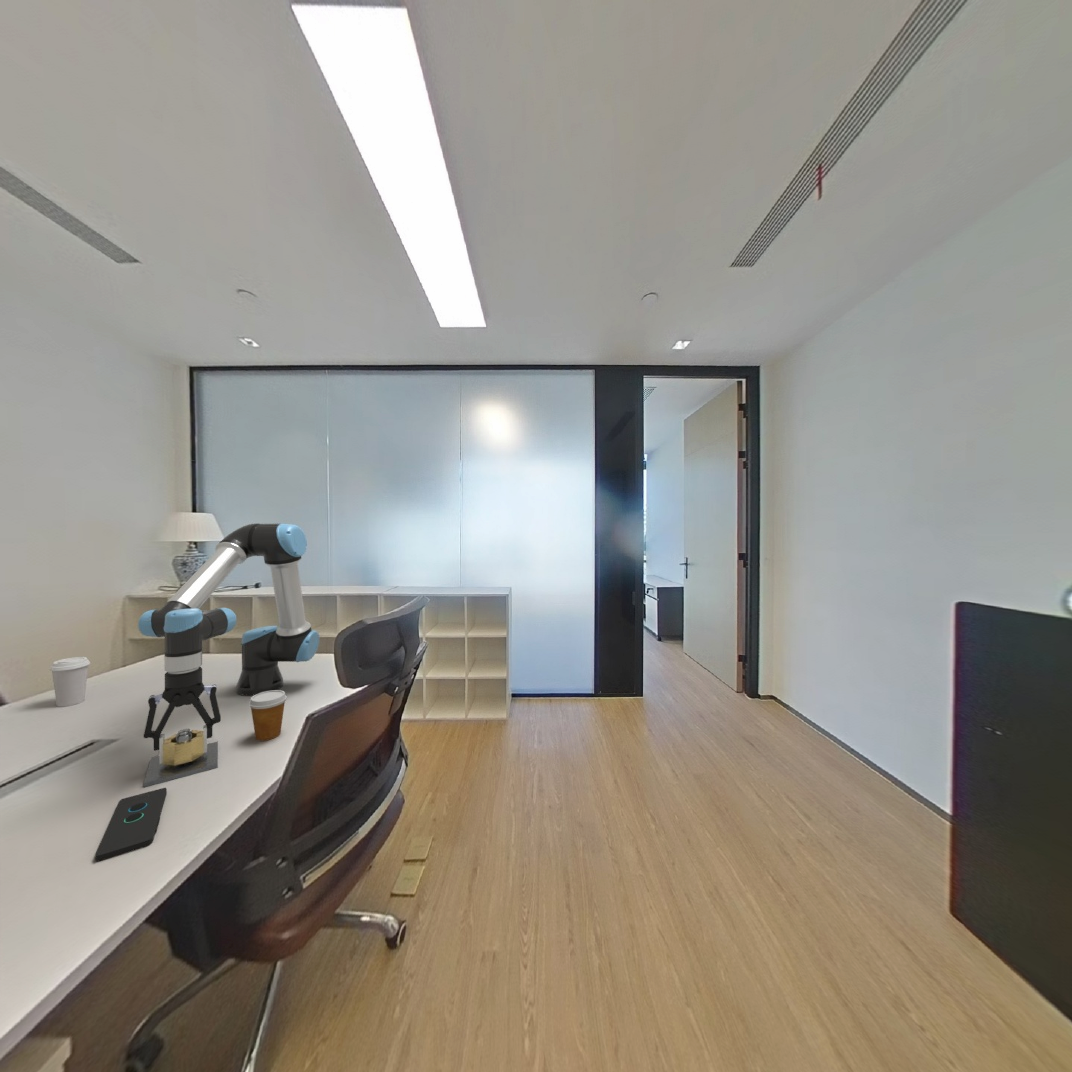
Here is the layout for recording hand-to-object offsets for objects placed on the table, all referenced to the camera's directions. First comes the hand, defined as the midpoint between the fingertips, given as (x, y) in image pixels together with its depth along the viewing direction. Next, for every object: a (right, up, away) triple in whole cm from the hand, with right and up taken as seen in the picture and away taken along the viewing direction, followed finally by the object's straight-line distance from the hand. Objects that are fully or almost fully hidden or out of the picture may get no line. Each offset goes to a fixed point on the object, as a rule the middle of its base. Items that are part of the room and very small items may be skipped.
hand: (184, 755), depth 110 cm
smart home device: (+8, -3, -22) cm, 23 cm away
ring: (0, 0, 0) cm, 0 cm away
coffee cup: (-71, -1, +37) cm, 80 cm away
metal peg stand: (0, -2, 0) cm, 2 cm away
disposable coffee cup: (+12, -2, +16) cm, 20 cm away
